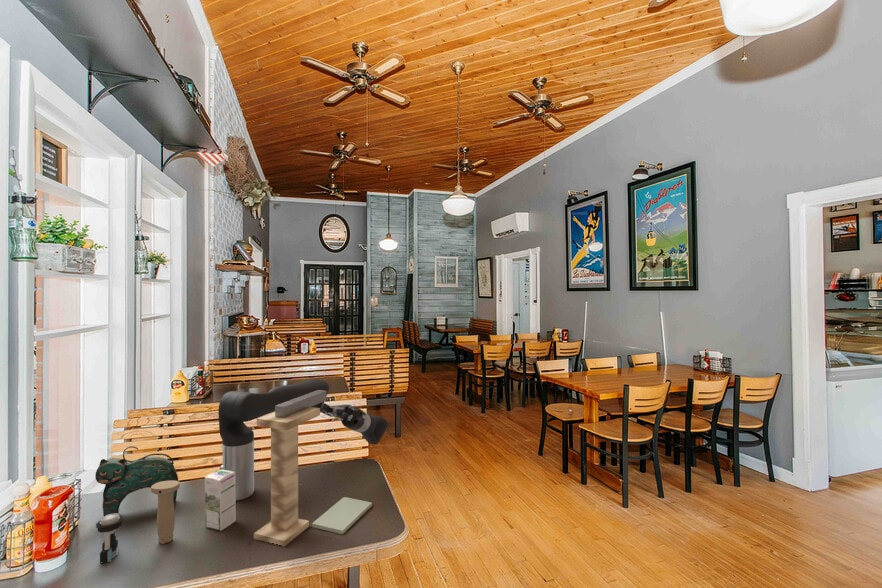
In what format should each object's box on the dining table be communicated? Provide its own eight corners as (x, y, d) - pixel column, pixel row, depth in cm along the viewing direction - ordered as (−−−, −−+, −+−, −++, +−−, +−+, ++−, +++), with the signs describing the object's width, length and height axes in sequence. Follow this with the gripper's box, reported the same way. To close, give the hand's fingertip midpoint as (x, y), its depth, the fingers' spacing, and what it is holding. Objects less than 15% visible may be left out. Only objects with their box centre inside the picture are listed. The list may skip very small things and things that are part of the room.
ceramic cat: (95, 525, 118) (94, 455, 118) (98, 515, 123) (98, 447, 123) (178, 506, 129) (178, 441, 128) (178, 497, 134) (177, 435, 134)
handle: (173, 546, 109) (172, 488, 109) (147, 546, 108) (147, 489, 108) (183, 535, 114) (183, 480, 113) (158, 535, 113) (158, 480, 113)
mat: (312, 526, 118) (311, 523, 118) (344, 499, 133) (344, 496, 133) (342, 534, 114) (342, 530, 114) (371, 505, 129) (371, 502, 129)
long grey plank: (275, 416, 114) (275, 405, 114) (318, 399, 132) (318, 389, 132) (283, 417, 113) (283, 406, 113) (326, 400, 131) (326, 390, 131)
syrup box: (236, 520, 121) (236, 470, 120) (219, 532, 115) (219, 479, 115) (221, 517, 123) (221, 467, 122) (204, 528, 117) (203, 476, 117)
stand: (254, 538, 112) (253, 419, 112) (292, 510, 126) (292, 404, 126) (284, 546, 109) (284, 423, 108) (319, 517, 123) (319, 408, 122)
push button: (104, 549, 107) (104, 510, 107) (129, 545, 109) (129, 507, 109) (92, 565, 101) (91, 524, 101) (118, 561, 103) (118, 521, 102)
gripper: (342, 407, 155) (318, 394, 141) (376, 411, 150) (355, 398, 136) (336, 427, 151) (311, 416, 138) (371, 432, 146) (348, 421, 133)
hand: (333, 407), depth 137 cm, fingers open, 8 cm apart
